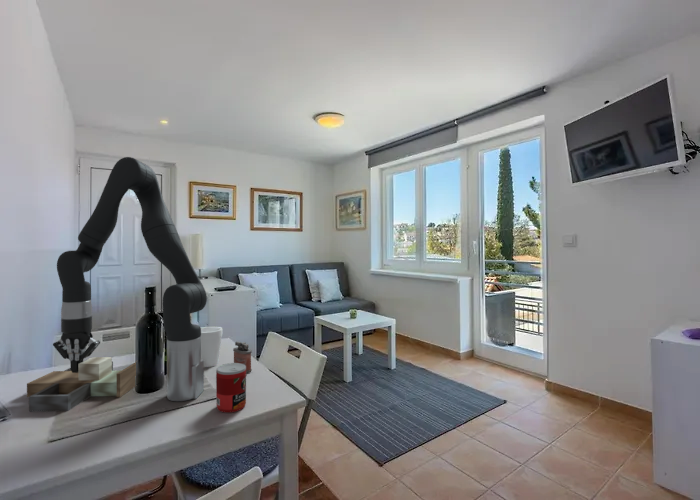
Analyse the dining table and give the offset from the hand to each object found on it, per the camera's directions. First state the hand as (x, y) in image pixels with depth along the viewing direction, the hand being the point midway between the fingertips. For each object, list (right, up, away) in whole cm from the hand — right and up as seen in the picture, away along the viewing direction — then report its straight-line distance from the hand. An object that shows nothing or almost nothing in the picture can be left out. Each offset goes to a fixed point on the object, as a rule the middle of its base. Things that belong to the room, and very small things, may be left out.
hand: (76, 371), depth 109 cm
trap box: (+2, -6, 0) cm, 6 cm away
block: (+6, -2, 0) cm, 6 cm away
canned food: (+51, -6, -10) cm, 52 cm away
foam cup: (+31, -5, +24) cm, 40 cm away
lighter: (+45, -6, +17) cm, 49 cm away
